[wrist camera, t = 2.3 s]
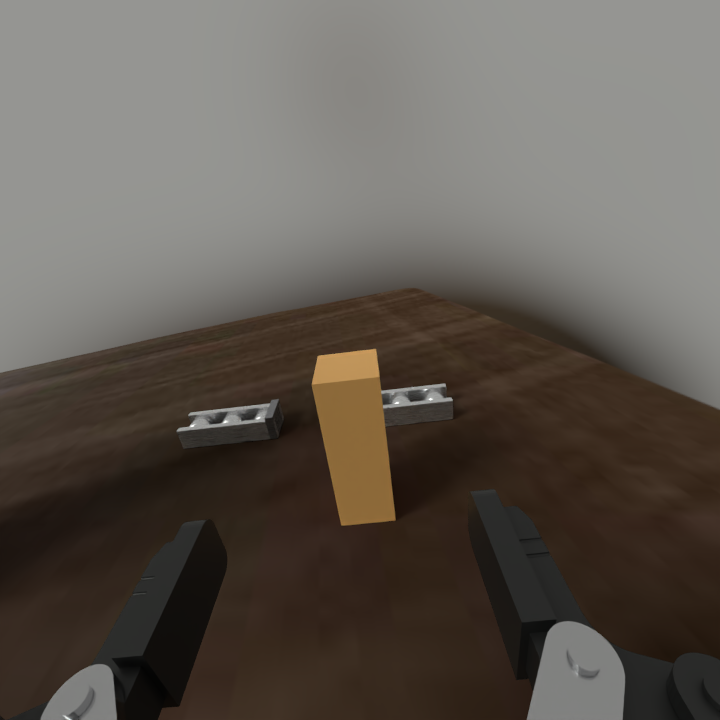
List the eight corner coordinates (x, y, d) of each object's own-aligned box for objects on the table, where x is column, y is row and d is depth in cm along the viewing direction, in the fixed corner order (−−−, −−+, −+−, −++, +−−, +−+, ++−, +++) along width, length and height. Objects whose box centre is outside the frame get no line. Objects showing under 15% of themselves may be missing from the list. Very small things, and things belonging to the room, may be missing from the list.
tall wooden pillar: (341, 525, 26) (311, 384, 21) (343, 479, 30) (318, 352, 25) (395, 520, 26) (379, 376, 21) (390, 474, 30) (375, 345, 25)
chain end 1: (183, 448, 37) (175, 428, 36) (196, 428, 40) (189, 409, 39) (277, 438, 36) (272, 417, 35) (284, 419, 39) (278, 399, 38)
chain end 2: (354, 429, 36) (351, 408, 35) (354, 411, 39) (351, 391, 38) (453, 419, 36) (452, 397, 34) (445, 400, 39) (444, 380, 38)
